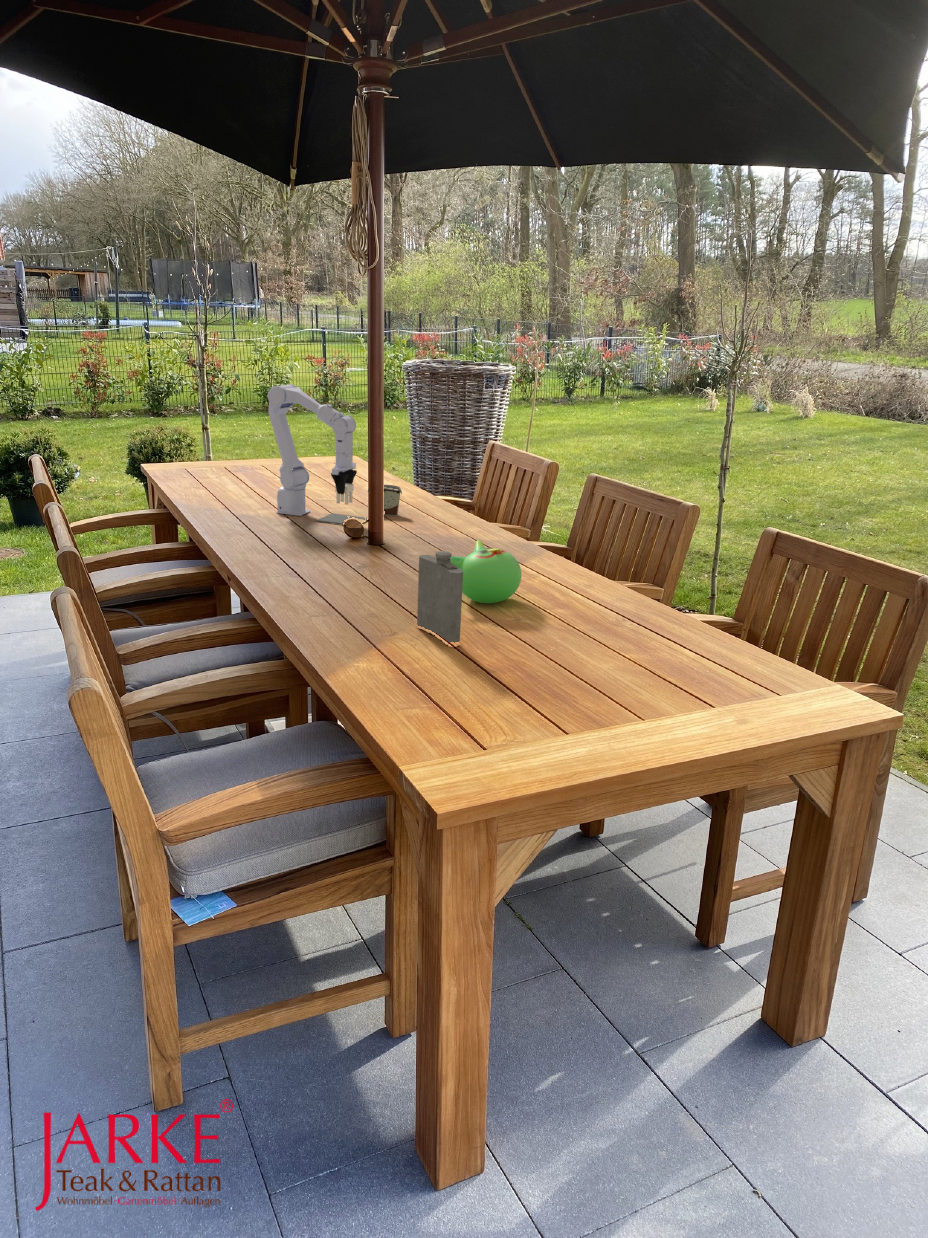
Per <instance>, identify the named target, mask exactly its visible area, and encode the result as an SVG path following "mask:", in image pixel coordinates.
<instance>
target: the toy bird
mask: <svg viewBox="0 0 928 1238" xmlns="http://www.w3.org/2000/svg"><path fill="white" fill-rule="evenodd" d="M450 559H451V560H450V563H452V564H453V565H455V566H457V567H458V568H460V569H461V570H462V571H463V585H462V594H464V595H465V597H467V598H468V599H470V600H471V601H473V602H477V603H481V604H494V603H495V604H496V603H499V602H503V601H505V600H508V599H509V598H510V597H512V596H513V595H514V594H515V593H516V592H517V590H518V589H519V587H520V584H521V582H522V569H521V568H522V567H521V565H520V563H519V561H518V559H517V558H515V556H514V555H513V554H511V553H510V552H508V551H506V550H503V549H501V548H494V547H485V545H484V544H483V542H482V541H481V540H480V539H477V540H476V541H475V544H474V549H473V552H471V553H469V554H468V555H466V556H455V555H454V556H453V555H451V558H450Z"/></svg>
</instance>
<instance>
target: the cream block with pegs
mask: <svg viewBox="0 0 928 1238" xmlns="http://www.w3.org/2000/svg"><path fill="white" fill-rule="evenodd" d="M334 485H335V484H334ZM354 486H355V485H354V483H352V484H349V483H345V491H344V494H338V493H337V489H336V485H335V487H334V489H335V493H336V499H335V501H336V504H340V503H341V502H342V503H343V502H344V505H346V506H347V505H349V504H353V501H354V500H353V494H354V493H353V492H354V488H355V487H354Z"/></svg>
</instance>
